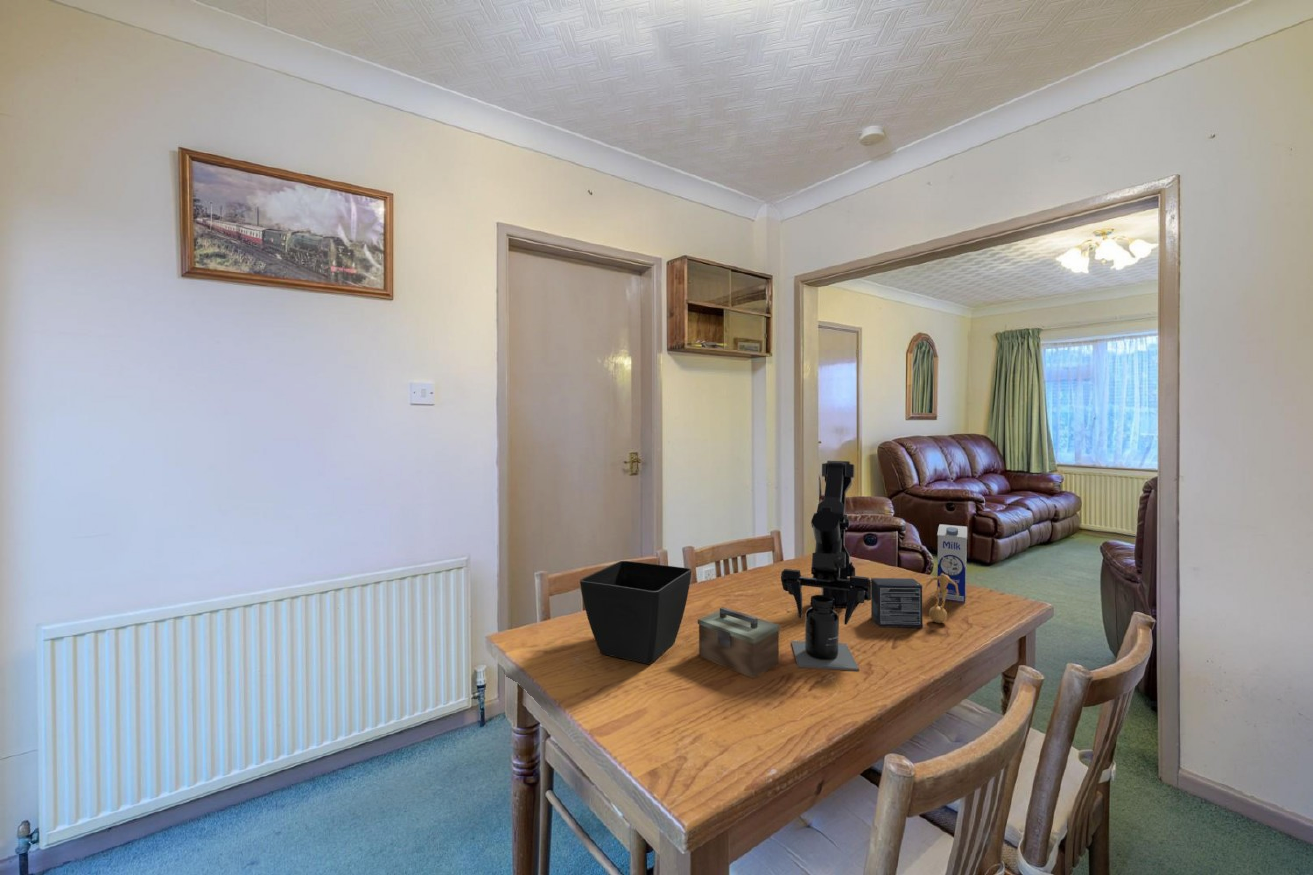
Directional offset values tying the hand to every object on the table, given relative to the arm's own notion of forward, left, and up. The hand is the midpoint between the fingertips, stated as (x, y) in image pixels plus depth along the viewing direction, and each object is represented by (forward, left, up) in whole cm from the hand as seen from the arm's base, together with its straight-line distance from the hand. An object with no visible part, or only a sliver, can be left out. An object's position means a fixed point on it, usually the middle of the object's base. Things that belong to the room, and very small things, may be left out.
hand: (822, 620), depth 112 cm
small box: (-21, -22, -8) cm, 32 cm away
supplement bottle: (0, -1, -8) cm, 8 cm away
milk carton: (-42, -43, -8) cm, 61 cm away
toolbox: (+18, +3, -8) cm, 20 cm away
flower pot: (+40, 0, -8) cm, 40 cm away
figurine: (-32, -24, -8) cm, 41 cm away
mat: (0, -1, -8) cm, 8 cm away
